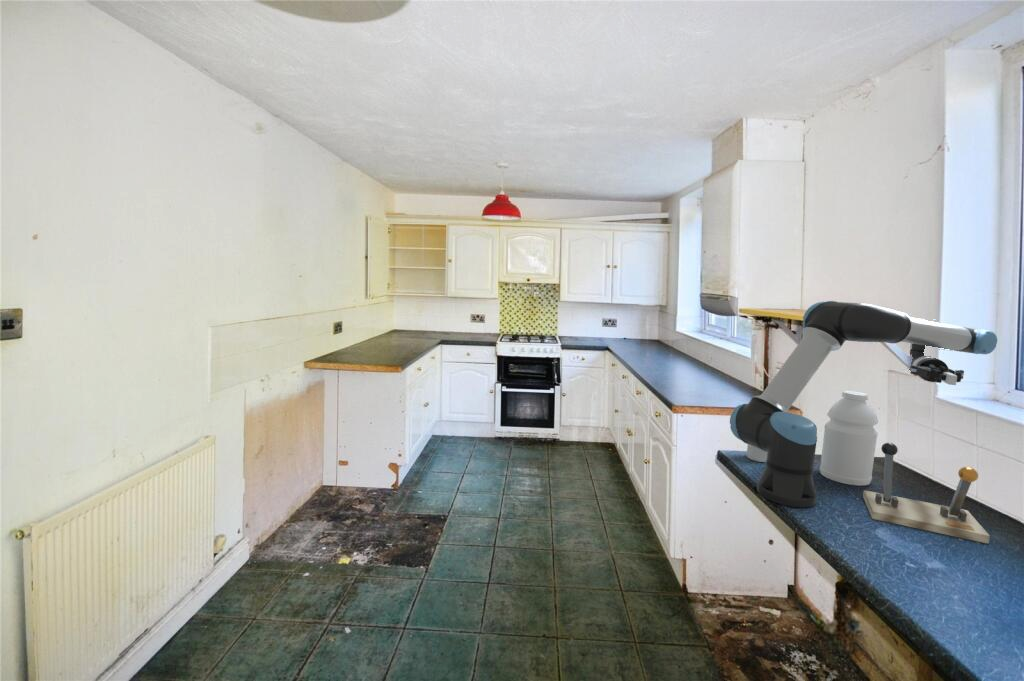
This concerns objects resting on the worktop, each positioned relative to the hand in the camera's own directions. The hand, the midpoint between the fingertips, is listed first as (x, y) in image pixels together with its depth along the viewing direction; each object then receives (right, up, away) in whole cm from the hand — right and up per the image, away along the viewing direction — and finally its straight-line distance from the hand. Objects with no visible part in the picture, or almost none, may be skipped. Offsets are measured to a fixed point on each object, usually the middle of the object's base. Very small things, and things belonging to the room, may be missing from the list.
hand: (953, 380), depth 136 cm
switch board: (-15, -36, -6) cm, 40 cm away
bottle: (-16, -33, +21) cm, 43 cm away
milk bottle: (-37, -31, +35) cm, 59 cm away
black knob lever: (-21, -32, -3) cm, 39 cm away
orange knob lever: (-9, -34, -10) cm, 36 cm away
